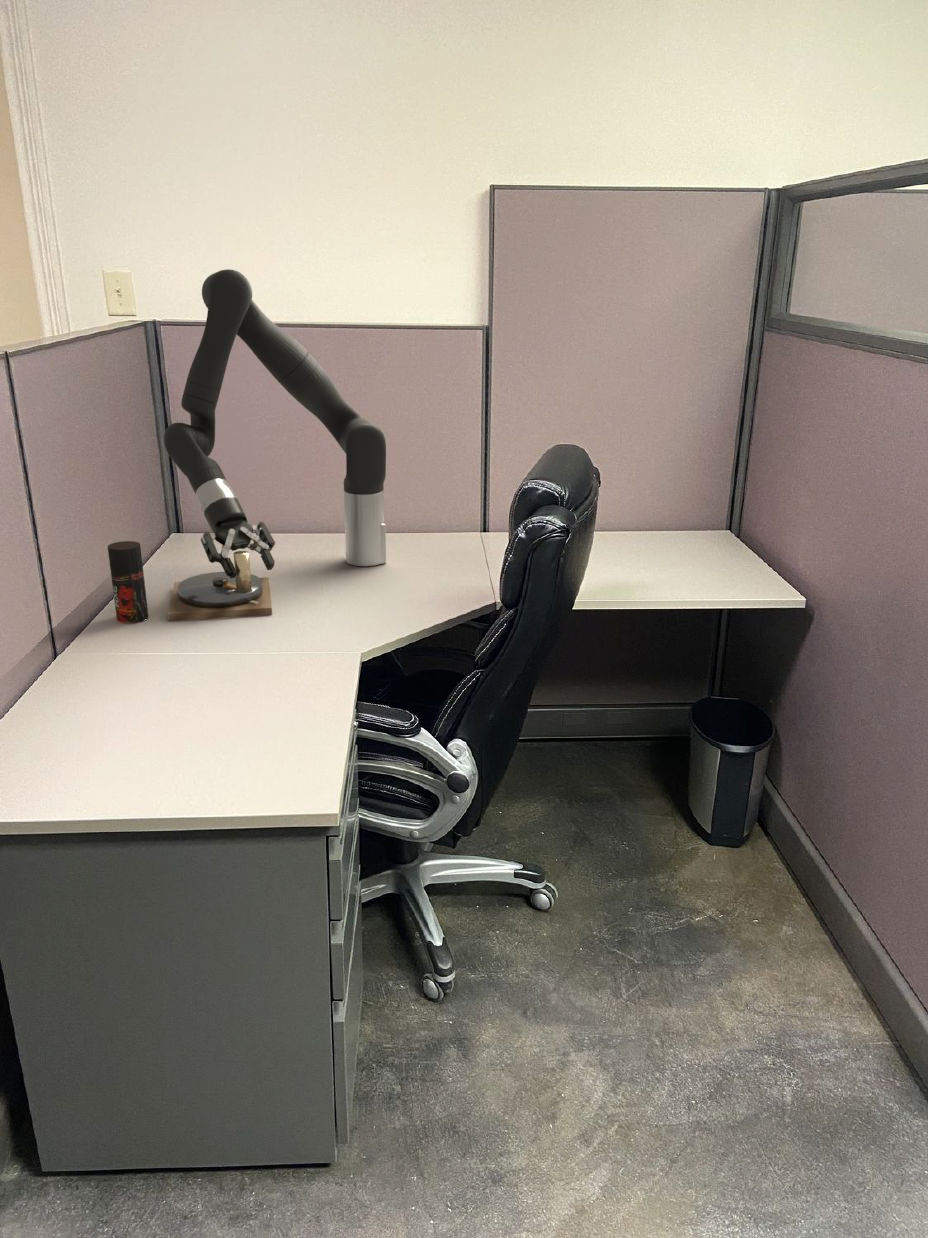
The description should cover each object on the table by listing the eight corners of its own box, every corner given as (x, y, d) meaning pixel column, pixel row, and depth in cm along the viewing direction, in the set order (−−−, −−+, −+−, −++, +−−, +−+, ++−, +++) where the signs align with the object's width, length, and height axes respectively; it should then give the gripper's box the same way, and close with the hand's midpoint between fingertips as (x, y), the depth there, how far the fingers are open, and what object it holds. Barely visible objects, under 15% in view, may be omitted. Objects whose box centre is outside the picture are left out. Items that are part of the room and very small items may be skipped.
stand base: (269, 583, 203) (268, 575, 202) (272, 614, 184) (271, 606, 184) (175, 588, 198) (174, 580, 198) (168, 621, 180) (167, 612, 180)
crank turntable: (263, 578, 200) (260, 534, 197) (262, 604, 184) (258, 557, 181) (182, 582, 197) (178, 537, 194) (174, 609, 181) (169, 560, 178)
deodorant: (155, 615, 183) (146, 543, 177) (133, 625, 178) (124, 551, 172) (132, 611, 185) (123, 539, 180) (110, 620, 180) (100, 547, 175)
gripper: (193, 501, 182) (227, 569, 178) (256, 490, 191) (289, 556, 187) (183, 521, 187) (215, 588, 183) (245, 511, 196) (277, 574, 193)
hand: (253, 572), depth 185 cm, fingers open, 8 cm apart
